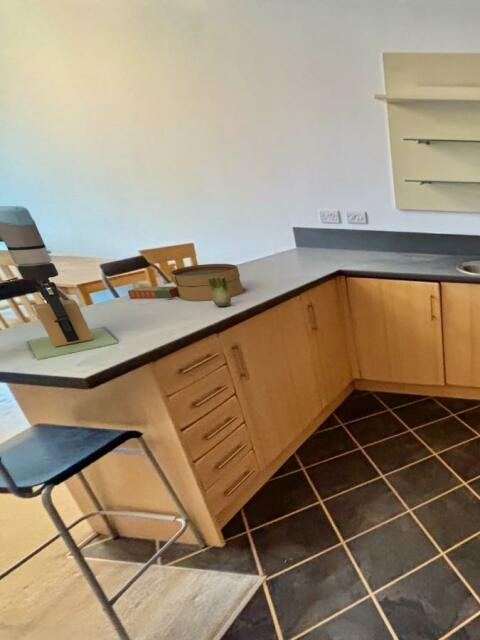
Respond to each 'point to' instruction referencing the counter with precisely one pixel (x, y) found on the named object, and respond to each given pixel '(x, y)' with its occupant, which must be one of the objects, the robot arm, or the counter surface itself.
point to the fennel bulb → (220, 292)
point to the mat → (71, 345)
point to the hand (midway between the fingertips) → (71, 338)
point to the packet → (53, 328)
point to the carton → (153, 292)
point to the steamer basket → (205, 280)
